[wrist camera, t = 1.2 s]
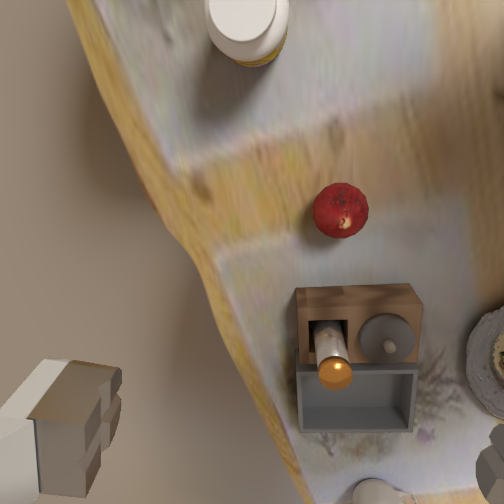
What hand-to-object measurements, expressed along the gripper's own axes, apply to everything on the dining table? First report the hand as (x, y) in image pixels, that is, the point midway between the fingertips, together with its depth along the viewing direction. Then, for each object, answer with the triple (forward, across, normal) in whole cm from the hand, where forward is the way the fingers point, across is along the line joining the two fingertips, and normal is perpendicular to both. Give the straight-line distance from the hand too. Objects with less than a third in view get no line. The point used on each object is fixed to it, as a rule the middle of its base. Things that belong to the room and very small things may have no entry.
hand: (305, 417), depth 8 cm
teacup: (+37, -26, +48) cm, 66 cm away
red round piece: (+37, -8, +3) cm, 38 cm away
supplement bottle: (+37, +4, -12) cm, 39 cm away
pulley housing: (+37, -13, +17) cm, 43 cm away
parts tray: (+37, -16, +28) cm, 49 cm away
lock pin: (+37, -10, +18) cm, 42 cm away
